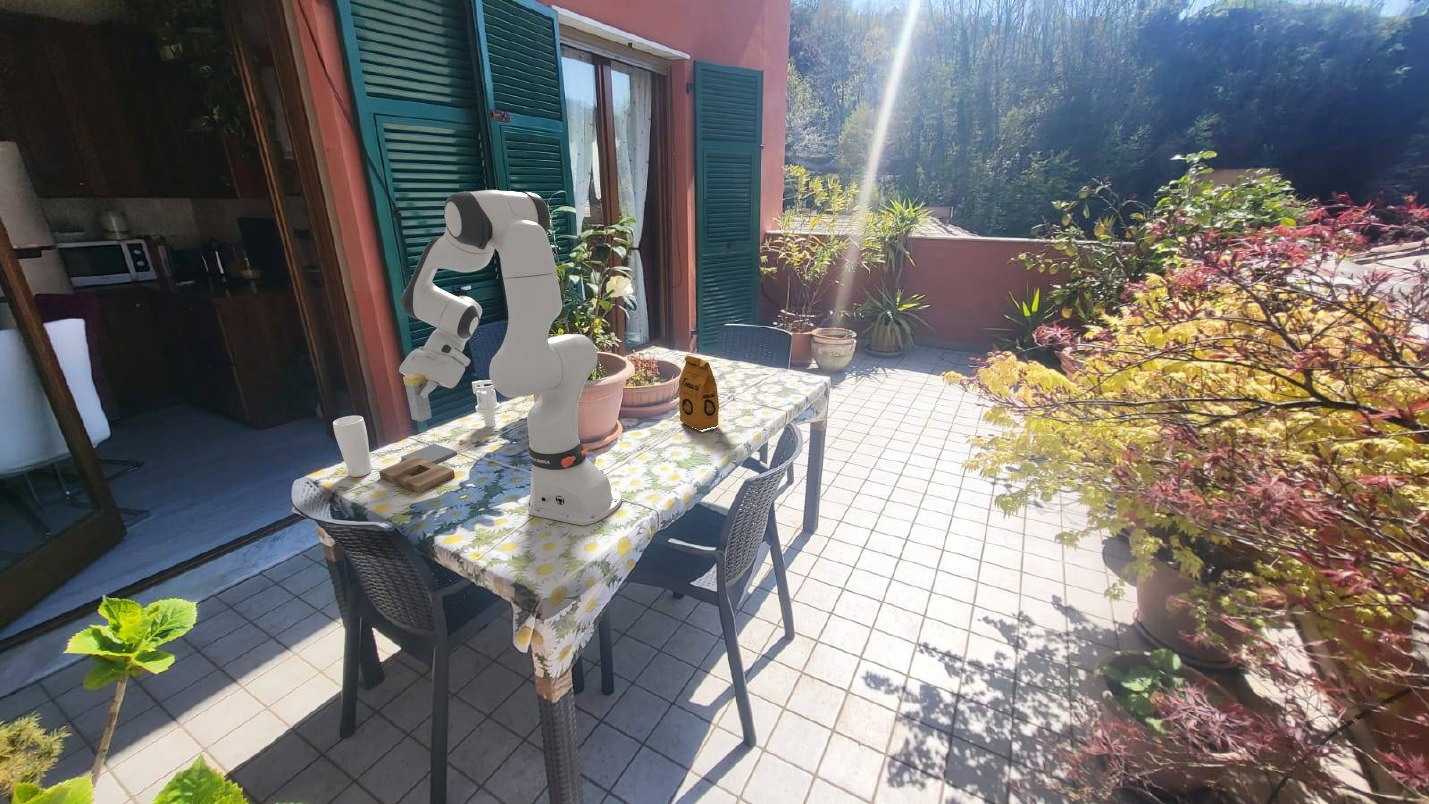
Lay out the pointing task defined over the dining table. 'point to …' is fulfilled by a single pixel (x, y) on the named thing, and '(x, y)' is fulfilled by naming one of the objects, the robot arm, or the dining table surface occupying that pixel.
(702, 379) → the coffee package
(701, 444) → the dining table surface
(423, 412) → the key peg
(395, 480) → the plate
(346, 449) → the drinking glass
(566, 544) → the dining table surface
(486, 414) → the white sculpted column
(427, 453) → the coaster
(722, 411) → the dining table surface
